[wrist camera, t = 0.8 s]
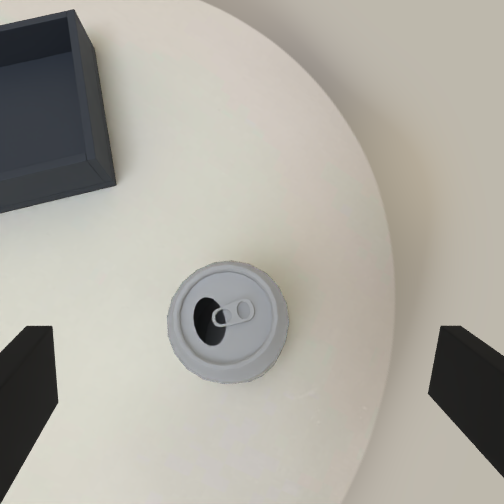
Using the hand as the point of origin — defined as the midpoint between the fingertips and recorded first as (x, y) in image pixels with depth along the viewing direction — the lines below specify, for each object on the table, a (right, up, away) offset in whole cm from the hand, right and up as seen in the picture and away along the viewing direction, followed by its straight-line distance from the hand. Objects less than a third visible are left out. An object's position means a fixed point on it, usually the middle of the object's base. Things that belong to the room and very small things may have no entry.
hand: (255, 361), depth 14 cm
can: (-1, -4, +21) cm, 21 cm away
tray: (-24, +16, +28) cm, 40 cm away
